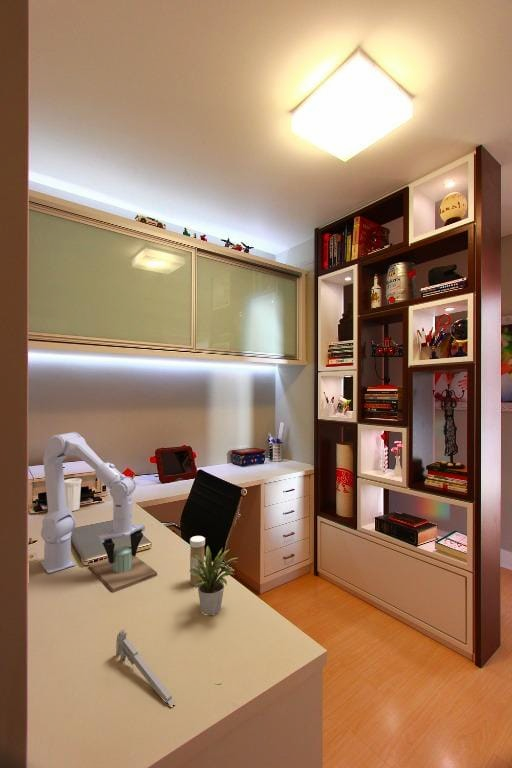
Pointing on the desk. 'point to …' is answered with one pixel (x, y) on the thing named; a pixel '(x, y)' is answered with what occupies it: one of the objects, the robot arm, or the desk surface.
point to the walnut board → (125, 579)
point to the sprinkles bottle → (197, 549)
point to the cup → (73, 493)
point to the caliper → (140, 665)
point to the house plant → (211, 581)
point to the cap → (122, 559)
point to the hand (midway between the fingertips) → (122, 558)
